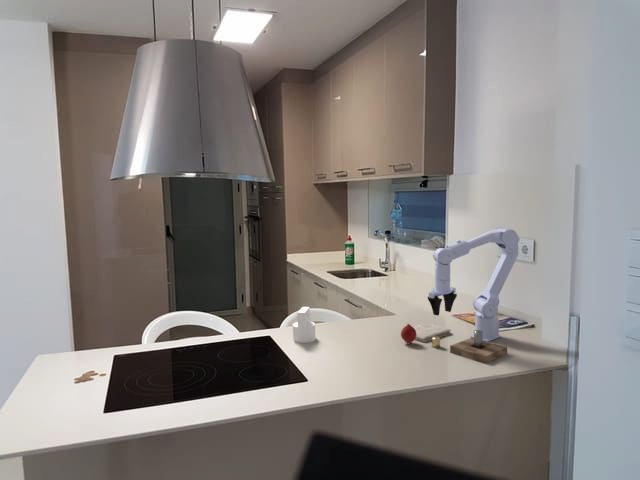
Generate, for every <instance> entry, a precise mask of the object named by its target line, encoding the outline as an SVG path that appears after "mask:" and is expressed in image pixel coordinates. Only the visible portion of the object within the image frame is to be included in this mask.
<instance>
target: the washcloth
mask: <svg viewBox="0 0 640 480" xmlns="http://www.w3.org/2000/svg"><path fill="white" fill-rule="evenodd" d="M412 327H413V328H414V329H415V331H416V338H415V340H414V341H418V342H421V343H426V342H429V341H432V337H440V338H442V337H444V336H448V335H451V329H450V328H448V327H442V326H439V325H437V324H435V323H434V324H433V323H430V322H429V323H419V324H418V325H415V326H412Z"/></svg>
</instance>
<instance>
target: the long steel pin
mask: <svg viewBox="0 0 640 480" xmlns="http://www.w3.org/2000/svg"><path fill="white" fill-rule="evenodd" d="M473 334H474V348H478V349H482V345H483V331H481V330H475V329H474V331H473Z"/></svg>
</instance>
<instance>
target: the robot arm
mask: <svg viewBox="0 0 640 480" xmlns="http://www.w3.org/2000/svg"><path fill="white" fill-rule="evenodd" d="M519 242H520V236H519V234H518V233H517V232H516V231H515V230H514V229H512V228H510V229H509V228H503V227H497V228H495V229H490V230H488V231H487V232H484V233H482V234H479V235H478V236H475V237H474V238H471V239H468V240H467V241H466V240H464V239H462V240H460V239H457V240H455V242H454V243H452V244H450V245H444V248H443V247H439V248H437V249H436V250H435V251H434V253H433V254H432V257H433V260H434V261H435V266H434V288H432V290H431V291H429V292H428V296H427V300H428V302H429V304H430V306H431V310H432V314H433V316H436V317H437V316H440V311H441V305H442V301H444V310H445V312H448V313H451V311H452V308H453V305H454V302H455V300H456V299H457V297H458V294H457V293H456V289H457V288H456V287H453V286H451V263H452V262H453V260H457V259H459V258H461V257H464V256H466V255H468V254H469V253H470V252H471V250H472V249H475V248H477V247H480V246H484V245H486V244H488V243H494V244H496V245H497V246H498V247H499V249H500V252H501V256H500V257H499V260H498V262H497V264H496V267H495V268H494V270H493V272H492V275H491V276H490V278H489V281H488V283H487V285H486V286H485V289H484V290H482V291H481V292H480V293H479V295H478V296H477V297H475V299H474V300H473V303H472V305H473V309H474V310H475V315H474V319H475V321H474V330H481V331H483V340H484V341H487V342H491V341H493V340H494V341H495V340H496V339H499V338H500V337H502V336H501V335H500V319H499V317H498V316H497V314H498V311H499V304H500V298H499V297H500V296H499V295H500V294H501V291H502V289H503V287H504V285H505V283H506V281H507V279H508V278H509V274H510V273H511V270H512V269H513V266H514V264H515V262H516V260H517V259H518V256H519ZM440 296H442V297H443V298H440ZM472 337H473V338H474V333H473V334H471V335H470V336H469V338H472Z"/></svg>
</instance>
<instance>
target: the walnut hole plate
mask: <svg viewBox="0 0 640 480" xmlns="http://www.w3.org/2000/svg"><path fill="white" fill-rule="evenodd" d="M449 353H451V354H454V355H457V356H460V357H463V358H466V359H469V360H473V361H476V362H479V363H481V364H488V363H490V362H492V361H494V360H497V359H499V358H500V357H504V356H506V355H507V354H508V346H505V345H502V344H497V343H494V342H491V341H489V342H487V341H484V340H483V345H482V349H478V348H474V338H473V337H469V338H467V339H465V340H462V341H459V342H456V343H455V344H454V343H453V344H451V345H450V346H449Z"/></svg>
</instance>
